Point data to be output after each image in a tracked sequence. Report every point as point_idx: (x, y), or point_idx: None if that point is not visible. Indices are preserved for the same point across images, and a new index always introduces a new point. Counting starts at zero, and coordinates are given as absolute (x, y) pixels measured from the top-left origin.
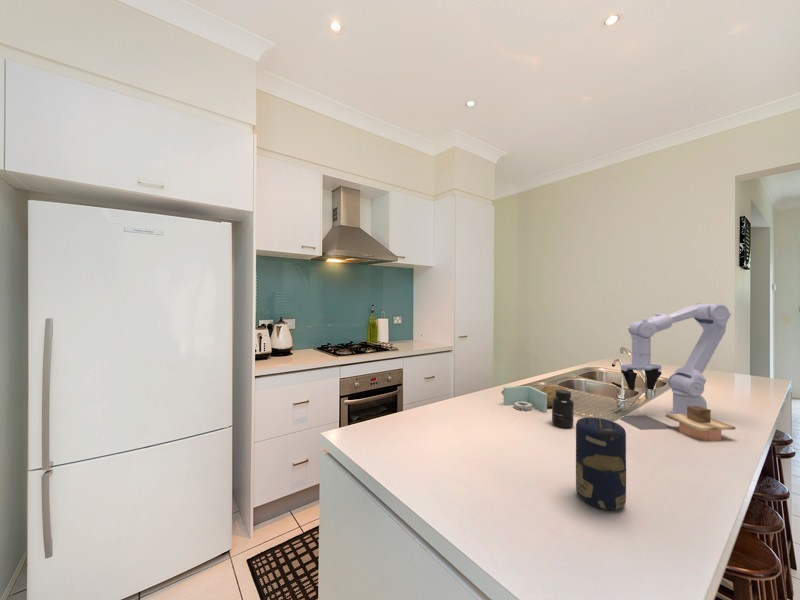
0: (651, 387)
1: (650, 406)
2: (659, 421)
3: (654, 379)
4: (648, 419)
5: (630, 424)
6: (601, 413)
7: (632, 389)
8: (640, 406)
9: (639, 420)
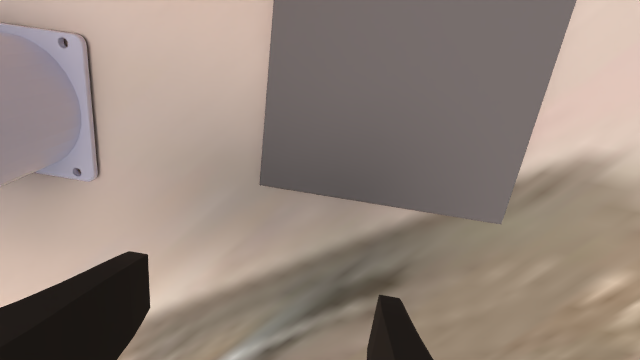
0: (131, 276)
1: None
2: (274, 65)
3: (23, 329)
4: (317, 114)
5: (556, 57)
6: (502, 289)
7: (402, 306)
8: None
9: (401, 112)
